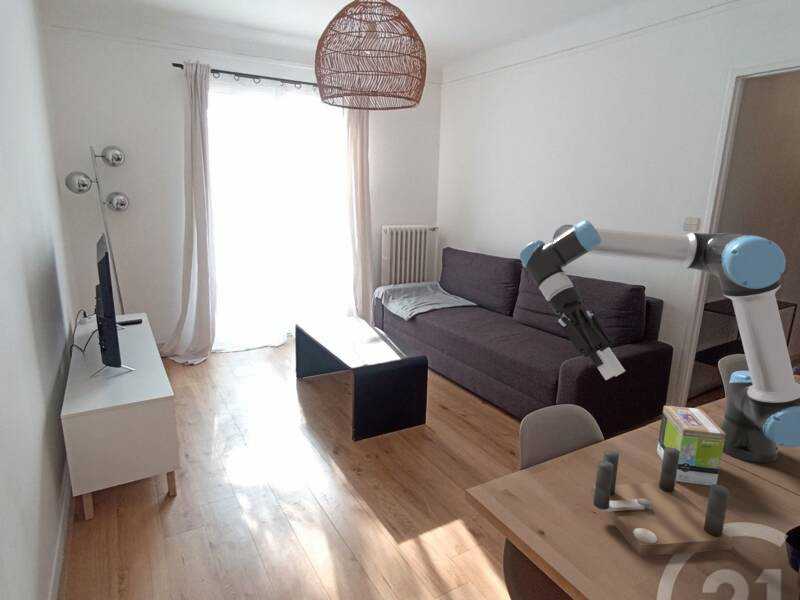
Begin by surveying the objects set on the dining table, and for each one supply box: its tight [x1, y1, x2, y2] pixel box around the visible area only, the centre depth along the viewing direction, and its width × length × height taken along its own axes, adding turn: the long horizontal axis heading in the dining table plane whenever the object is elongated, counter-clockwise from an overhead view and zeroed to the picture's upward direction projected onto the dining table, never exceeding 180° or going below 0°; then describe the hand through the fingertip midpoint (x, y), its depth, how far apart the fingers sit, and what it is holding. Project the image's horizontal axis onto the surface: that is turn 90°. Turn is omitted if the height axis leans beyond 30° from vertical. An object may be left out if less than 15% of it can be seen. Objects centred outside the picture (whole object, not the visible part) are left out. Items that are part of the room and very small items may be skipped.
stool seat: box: [590, 447, 734, 557], centre depth 104 cm, size 20×20×12 cm
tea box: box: [656, 405, 725, 487], centre depth 125 cm, size 15×10×15 cm, turn 168°
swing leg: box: [593, 460, 651, 513], centre depth 104 cm, size 13×3×11 cm, turn 95°
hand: (615, 375), depth 110 cm, fingers open, 3 cm apart
